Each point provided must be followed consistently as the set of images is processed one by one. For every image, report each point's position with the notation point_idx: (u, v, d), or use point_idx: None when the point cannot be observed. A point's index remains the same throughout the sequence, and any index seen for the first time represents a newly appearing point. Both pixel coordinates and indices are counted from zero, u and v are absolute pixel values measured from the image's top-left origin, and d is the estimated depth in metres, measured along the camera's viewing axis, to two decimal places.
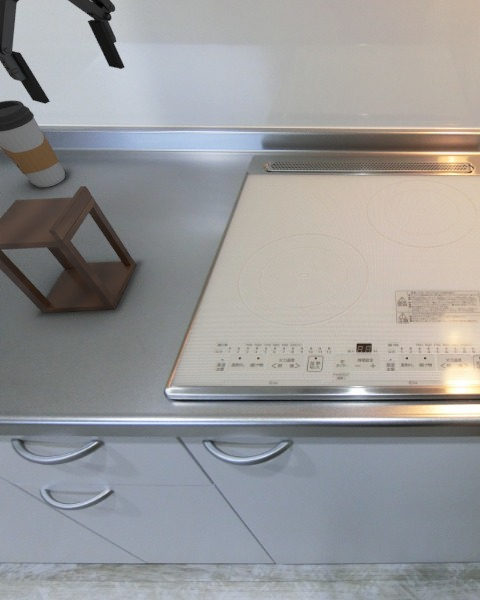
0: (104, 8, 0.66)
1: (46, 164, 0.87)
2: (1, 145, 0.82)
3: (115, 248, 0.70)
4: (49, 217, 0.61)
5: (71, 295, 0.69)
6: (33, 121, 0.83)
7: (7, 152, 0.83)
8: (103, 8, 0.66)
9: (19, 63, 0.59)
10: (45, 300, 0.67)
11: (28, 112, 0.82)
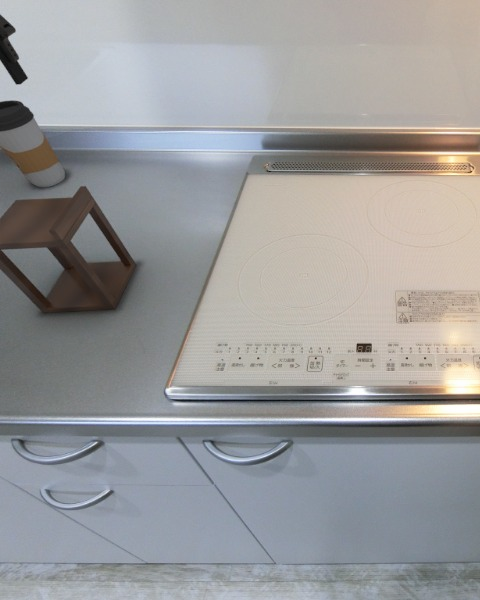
0: None
1: (46, 164, 0.87)
2: (1, 145, 0.82)
3: (115, 248, 0.70)
4: (49, 217, 0.61)
5: (71, 295, 0.69)
6: (33, 121, 0.83)
7: (7, 152, 0.83)
8: None
9: None
10: (45, 300, 0.67)
11: (28, 112, 0.82)
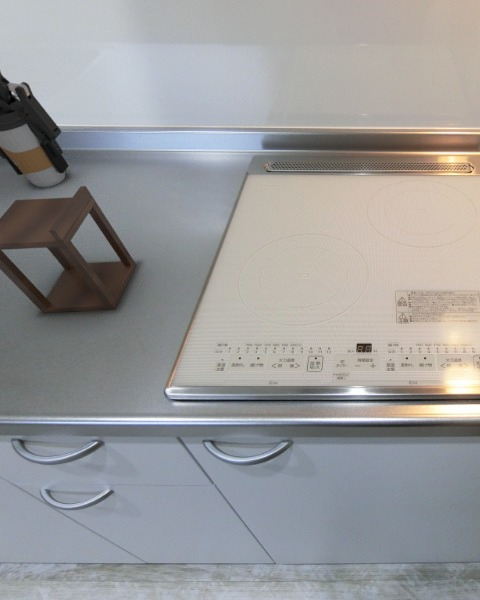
0: None
1: (46, 164, 0.87)
2: (1, 145, 0.82)
3: (115, 248, 0.70)
4: (49, 217, 0.61)
5: (71, 295, 0.69)
6: None
7: (7, 152, 0.83)
8: (47, 133, 0.84)
9: (0, 150, 0.85)
10: (45, 300, 0.67)
11: (28, 112, 0.82)
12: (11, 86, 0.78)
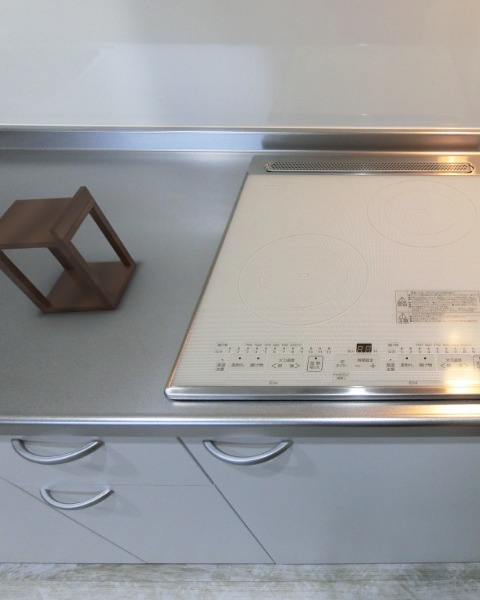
0: None
1: None
2: None
3: (115, 248, 0.70)
4: (49, 217, 0.61)
5: (71, 295, 0.69)
6: None
7: None
8: None
9: None
10: (45, 300, 0.67)
11: None
12: None
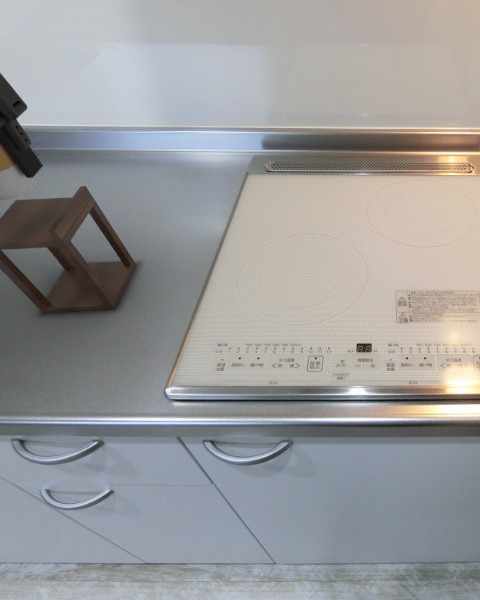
0: None
1: (4, 163, 0.52)
2: None
3: (115, 248, 0.70)
4: (49, 217, 0.61)
5: (71, 295, 0.69)
6: None
7: None
8: (1, 109, 0.49)
9: None
10: (45, 300, 0.67)
11: None
12: None
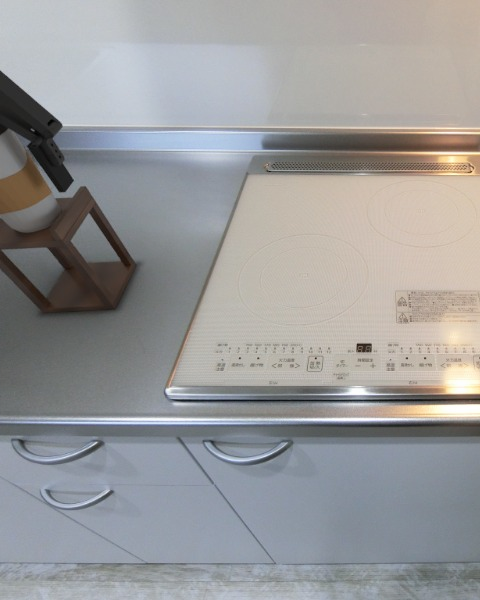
0: None
1: (32, 199, 0.56)
2: None
3: (115, 248, 0.70)
4: None
5: (71, 295, 0.69)
6: (9, 133, 0.52)
7: None
8: (40, 131, 0.51)
9: None
10: (45, 300, 0.67)
11: None
12: None
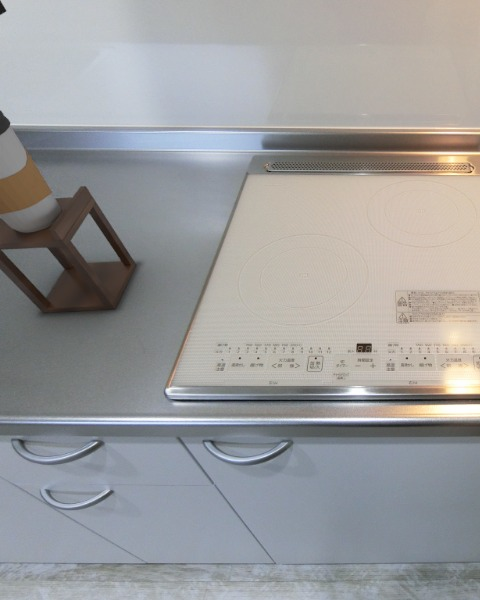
0: None
1: (32, 199, 0.56)
2: None
3: (115, 248, 0.70)
4: None
5: (71, 295, 0.69)
6: (9, 133, 0.52)
7: None
8: None
9: None
10: (45, 300, 0.67)
11: (1, 118, 0.51)
12: None
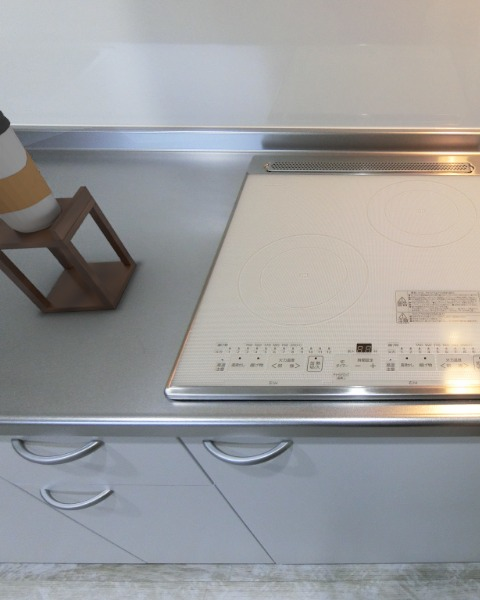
0: None
1: (32, 199, 0.56)
2: None
3: (115, 248, 0.70)
4: None
5: (71, 295, 0.69)
6: (9, 133, 0.52)
7: None
8: None
9: None
10: (45, 300, 0.67)
11: (1, 118, 0.51)
12: None
